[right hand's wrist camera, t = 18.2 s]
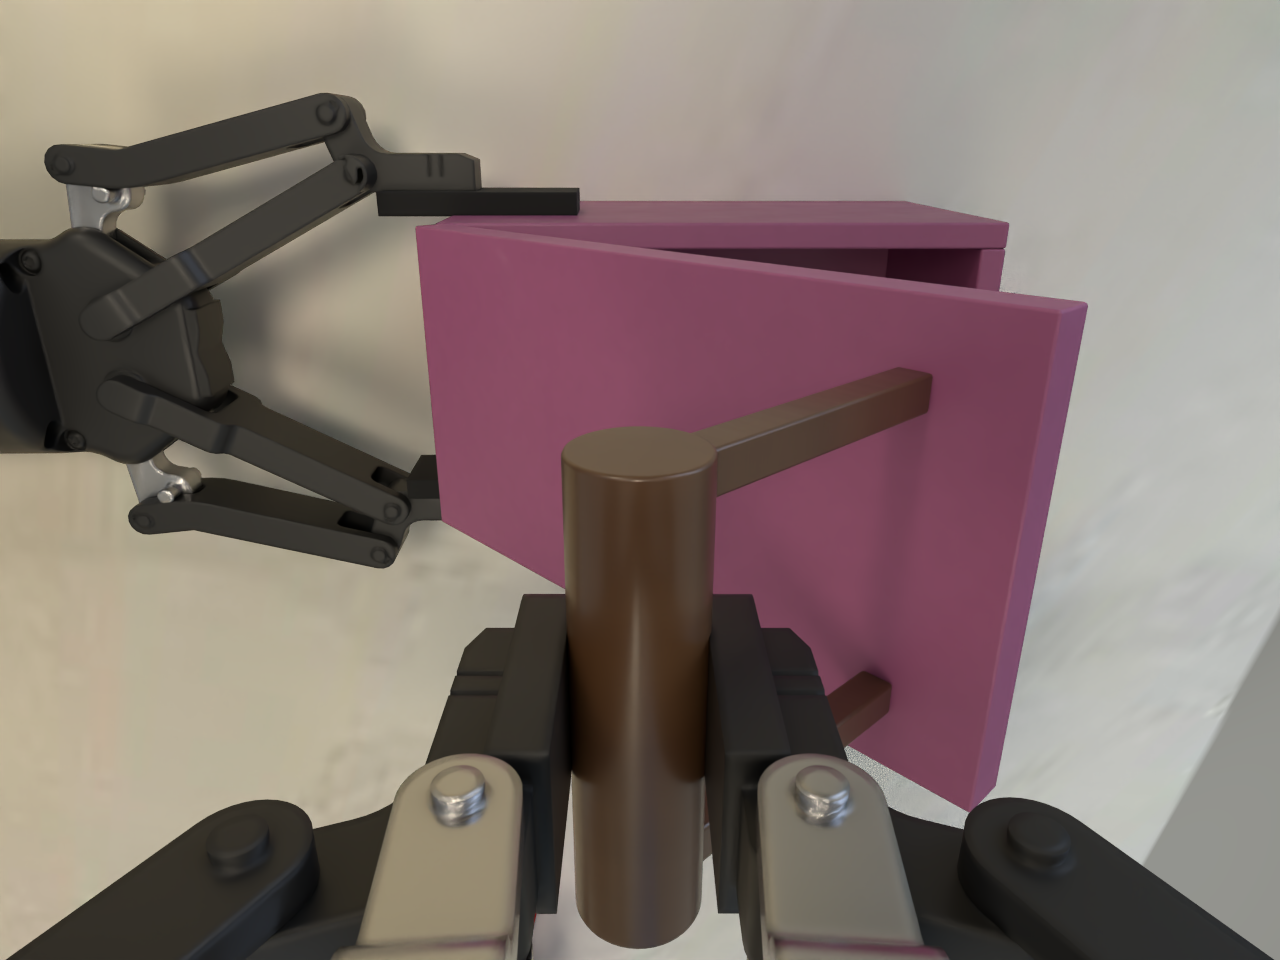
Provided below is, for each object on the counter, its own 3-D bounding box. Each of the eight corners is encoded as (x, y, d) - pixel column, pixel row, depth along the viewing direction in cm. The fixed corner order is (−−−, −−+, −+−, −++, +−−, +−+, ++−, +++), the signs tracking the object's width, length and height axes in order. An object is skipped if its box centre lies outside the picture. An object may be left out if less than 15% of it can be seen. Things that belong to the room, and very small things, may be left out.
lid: (1090, 301, 13) (732, 413, 8) (996, 786, 17) (702, 1099, 11) (446, 223, 26) (131, 245, 20) (468, 512, 29) (205, 598, 23)
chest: (905, 201, 36) (1010, 222, 26) (882, 417, 39) (967, 504, 30) (482, 200, 35) (434, 222, 26) (495, 420, 39) (458, 510, 29)
